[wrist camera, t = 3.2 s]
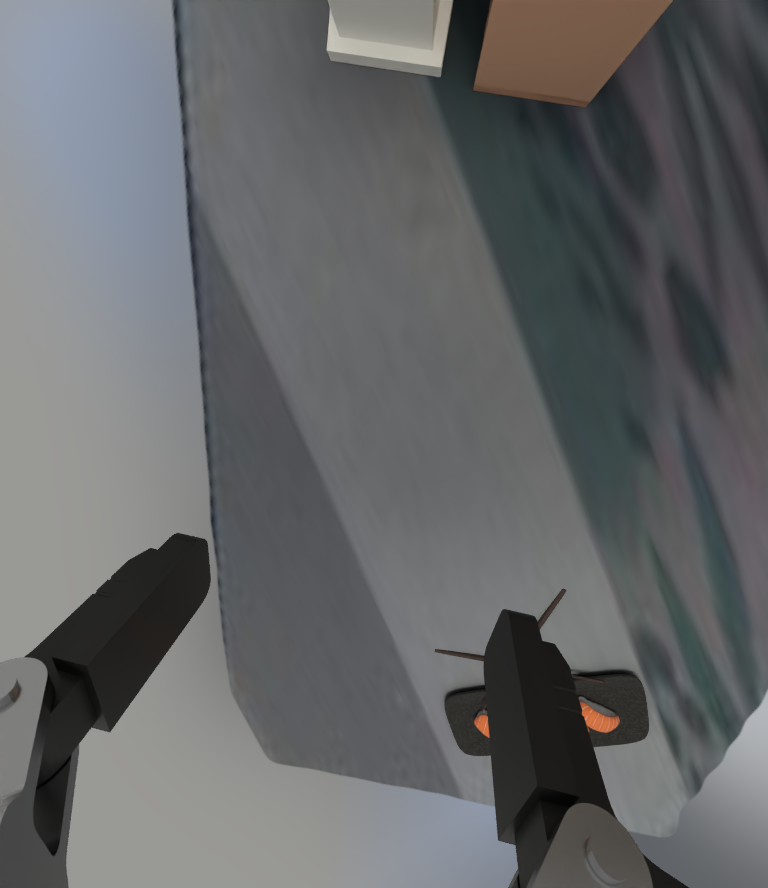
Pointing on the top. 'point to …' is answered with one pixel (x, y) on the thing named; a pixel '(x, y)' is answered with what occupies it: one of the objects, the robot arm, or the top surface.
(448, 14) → the pedestal
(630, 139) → the top surface
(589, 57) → the tall open box
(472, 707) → the sushi plate
